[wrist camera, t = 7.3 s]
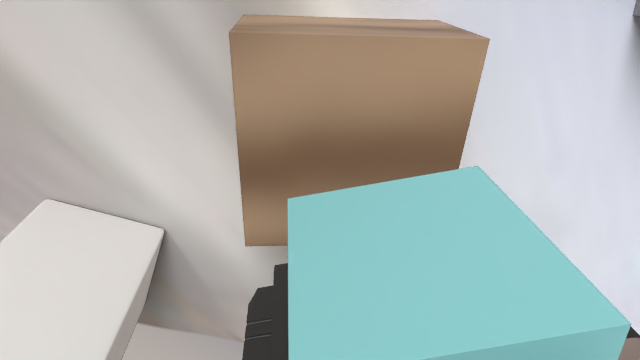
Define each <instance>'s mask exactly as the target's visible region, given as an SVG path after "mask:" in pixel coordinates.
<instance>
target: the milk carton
mask: <svg viewBox="0 0 640 360" xmlns="http://www.w3.org/2000/svg"><path fill="white" fill-rule="evenodd" d="M163 235H164V230H163V229H161V228H158V227H154V226H151V225H147V224H143V223H139V222H135V221H131V220H127V219H124V218H120V217H116V216H112V215H108V214H104V213H101V212H97V211H93V210H89V209H85V208H81V207H77V206H74V205H70V204H66V203H62V202H58V201H54V200H50V199H46V200H44V201H43V202H41V203H40V204H39V205H38V206H37V207H36V208H35V209H34V210H33V211H32V212H31V213H30V214H29V215H28V216H27V217H26V218H25V219H24V220H23V221H22V222H21V223H20V224H19V225H18V226H17V227H16V228H15V229H13V230H12V231H11V232H10V233H9V234H8V235H7V236H6V237H5V238H4V239H3V240H2V241H1V242H0V360H122V357H123V355H124V353H125V350H126V348H127V346H128V343H129V341H130V338H131V336H132V333H133V331H134V329H135V326H136V324H137V322H138V319H139V317H140V314H141V312H142V310H143V307H144V305H145V301H146V297H147V294H148V290H149V286H150V283H151V279H152V275H153V272H154V268H155V264H156V261H157V257H158V253H159V250H160V246H161V242H162V239H163Z"/></svg>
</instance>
